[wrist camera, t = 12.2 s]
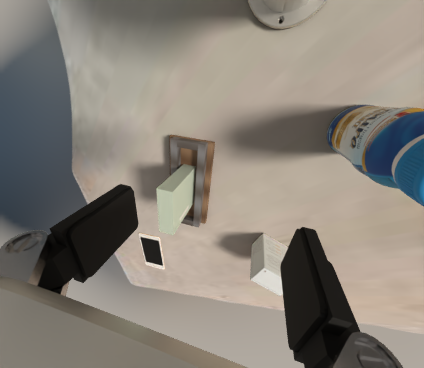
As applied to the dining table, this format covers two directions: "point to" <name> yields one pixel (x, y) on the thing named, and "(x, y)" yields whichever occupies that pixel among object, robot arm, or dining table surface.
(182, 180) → the door panel
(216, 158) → the dining table surface
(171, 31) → the dining table surface
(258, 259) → the small box
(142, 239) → the cell phone
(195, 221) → the track board
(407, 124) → the beverage bottle
